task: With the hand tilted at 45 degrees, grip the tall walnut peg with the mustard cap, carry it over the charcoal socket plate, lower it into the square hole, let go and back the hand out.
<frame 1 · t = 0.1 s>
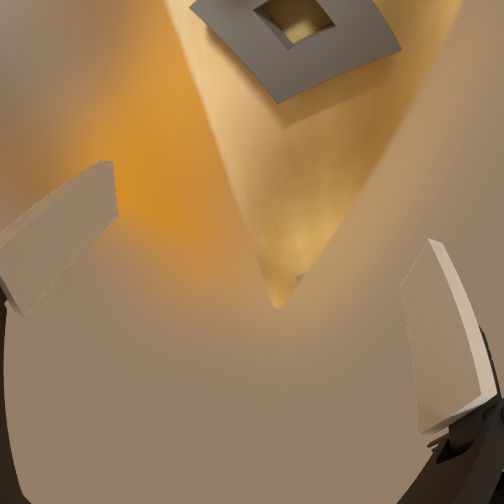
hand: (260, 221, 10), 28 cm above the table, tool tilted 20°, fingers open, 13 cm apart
socket plate: (298, 13, 22), on the table
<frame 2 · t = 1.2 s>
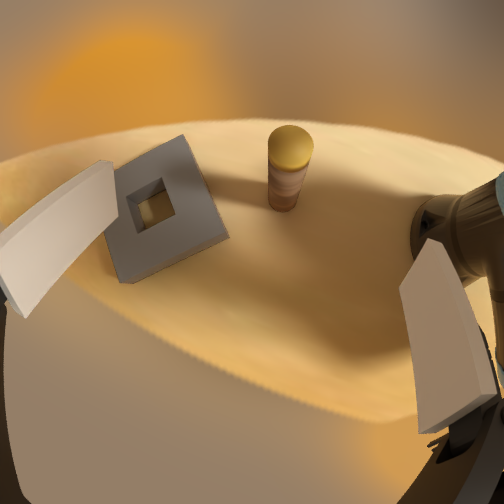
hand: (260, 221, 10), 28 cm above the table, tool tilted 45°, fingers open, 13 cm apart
walnut peg: (282, 198, 39), on the table
socket plate: (159, 212, 40), on the table
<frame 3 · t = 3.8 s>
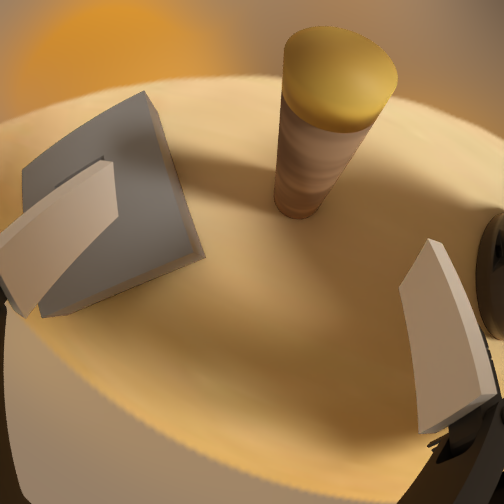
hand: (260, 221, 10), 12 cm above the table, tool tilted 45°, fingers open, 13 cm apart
walnut peg: (297, 196, 23), on the table
socket plate: (104, 210, 24), on the table
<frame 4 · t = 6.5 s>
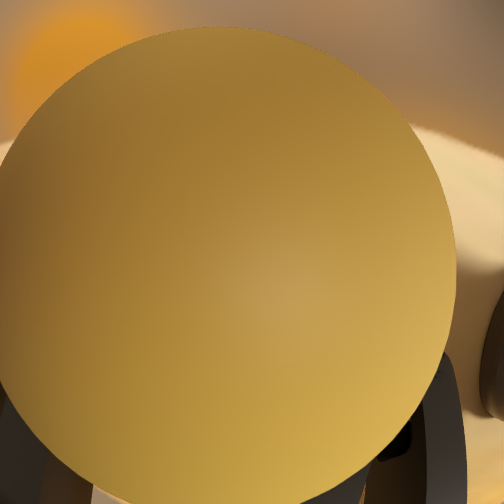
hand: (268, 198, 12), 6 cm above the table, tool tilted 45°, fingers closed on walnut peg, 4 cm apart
walnut peg: (252, 284, 17), on the table, touching gripper
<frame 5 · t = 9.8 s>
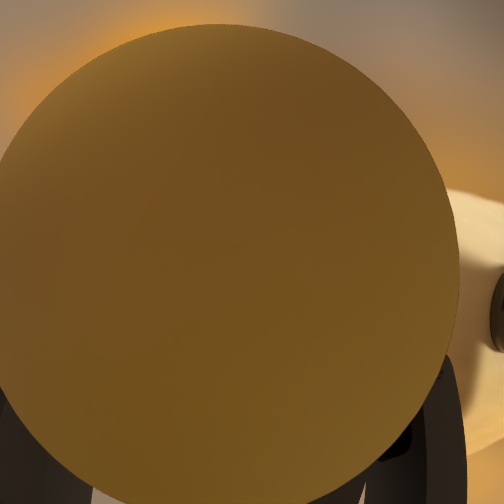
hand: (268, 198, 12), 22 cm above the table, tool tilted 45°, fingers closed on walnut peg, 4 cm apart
walnut peg: (252, 284, 17), point 16 cm above the table, touching gripper
when the fingers open (7 cm above the table, at t = 13.3 s): walnut peg drops 1 cm, resting in socket plate.
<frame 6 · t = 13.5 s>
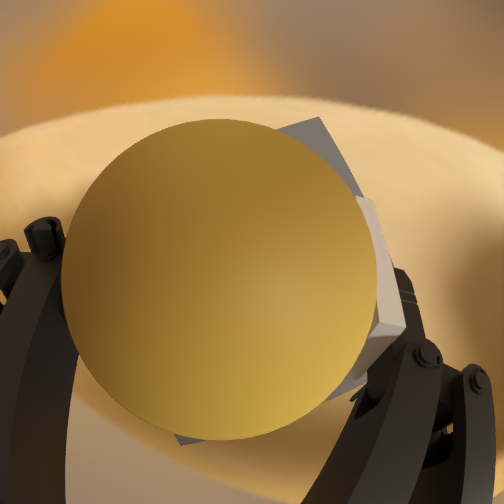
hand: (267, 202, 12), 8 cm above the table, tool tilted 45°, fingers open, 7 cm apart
walnut peg: (253, 285, 19), resting in socket plate
socket plate: (253, 284, 19), on the table
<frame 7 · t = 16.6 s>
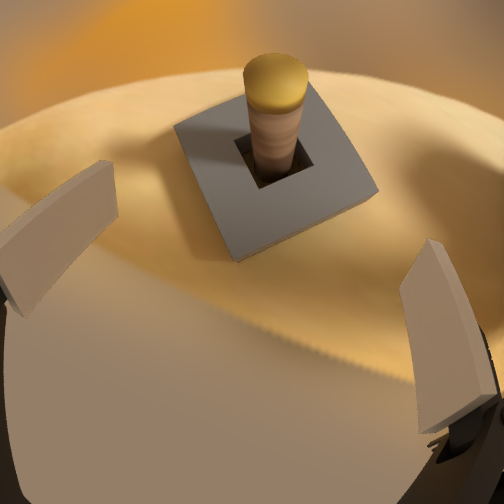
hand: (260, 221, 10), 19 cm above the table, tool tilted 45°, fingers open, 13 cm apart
walnut peg: (272, 167, 30), resting in socket plate
socket plate: (272, 166, 30), on the table
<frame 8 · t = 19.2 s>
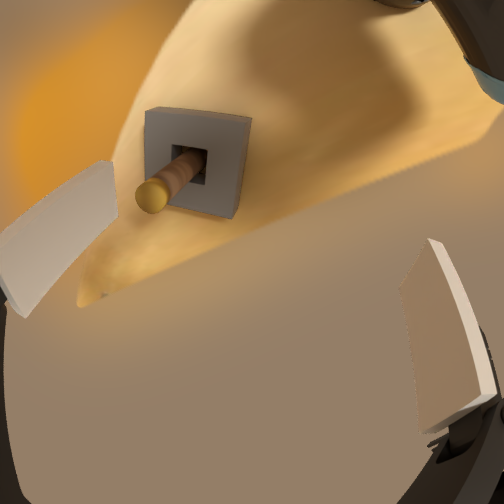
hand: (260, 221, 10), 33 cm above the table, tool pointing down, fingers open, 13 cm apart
walnut peg: (198, 156, 44), resting in socket plate
socket plate: (197, 156, 44), on the table
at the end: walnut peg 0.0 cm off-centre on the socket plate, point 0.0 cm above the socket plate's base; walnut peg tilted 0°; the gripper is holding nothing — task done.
